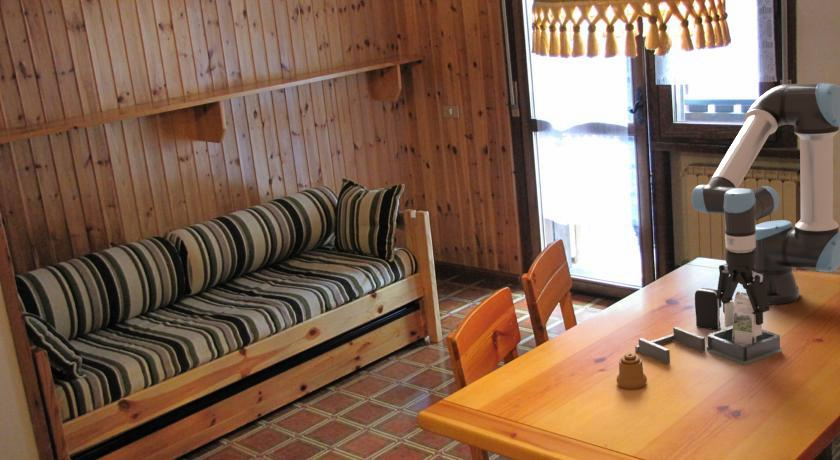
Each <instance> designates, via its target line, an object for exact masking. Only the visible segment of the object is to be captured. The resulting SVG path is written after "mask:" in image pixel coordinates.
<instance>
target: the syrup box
mask: <svg viewBox="0 0 840 460" xmlns="http://www.w3.org/2000/svg"><path fill="white" fill-rule="evenodd" d="M734 295H735V296H734V299H733V302H734V317H733V334H732V343H735V344H738V345H740V346H743V347H744V346H747V345H750V344H753V343H755V342H756V337H753V336H752V316H751V313H752V312H754V310H753V308H752V305H751V302H750V300H749V297H748V294H747V292H746V291H737V292H736V294H734Z"/></svg>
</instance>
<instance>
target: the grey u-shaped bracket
mask: <svg viewBox="0 0 840 460" xmlns="http://www.w3.org/2000/svg"><path fill="white" fill-rule="evenodd" d="M672 330H673V332H672V333H671V334H668V335H665V336H662V337H658V338H656V339H652V340H648V339H645V338H643V337H640V338H638V344H637V345H635V347H634V348H635V352H637V353H639V354H641V355H643V356H645V357H648V358H650V359H652V360H655V361H657V362H660V363H662V364H664V365H669V364H671V355H670V353H671V352H670V349H669V348H667V347H664V346H662V345H665V344H668V343H671V342H675V343H677V344H679V345H682V346H685V347H687V348H690V349H692V350H694V351H697V352H700V353H705V352H706V337H704V336H702V335H700V334H697V333H694V332H691V331H688V330H687V329H683V328H681V327H678V326H674V327H673V328H672Z"/></svg>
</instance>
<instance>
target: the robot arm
mask: <svg viewBox="0 0 840 460" xmlns="http://www.w3.org/2000/svg"><path fill="white" fill-rule="evenodd" d="M743 118H744V123H743V125H742V126H741V128H740V130H739V132H738V134H737V135H736V137H735V138H734V140H733V141H732V144H731V145H730V147H729V148H728V149H727V151H726V153H725V155H724V156H723V158H722V160H721V162H720V163H719V165H718V167H717V168H716V170H715V172H714V173H713V175H712V177H711V178H710V179H709V181H708V183H707V184H704V183H703V184H699V185H697V186H695V187H694V188H693V190H692V193H691V199H690V201H691V202H690V203H691V205H692V207H693V209H694V210H695V211H697V212H700V213H705V214H706V213H707V214H714V215H715V214H716V215H717V214H719V215H724V216H723V217H724V236H725V237H724V241H725V242H724V243H725V248H726V250H725V262H726V263H724V264H720V265H718V271H719V275H718V283H717V289H716V290H717V296H716V297H717V299H721V304H722V311H723V314H724V327H725V328H729V327H732V326H733V317H734V299H733V297H734V295H735V292H736V289H737V286H738V284H740V285H741V286H742V288H743V289H744V290H745V292H747V294H748V297H749V300H750V302H751V305H752V308H753V310H754V312H752V313H751V316H752V336H753V337H756V336H759V335H762V329H763V328H762V327H763V324H764V313H767V312H769V311H770V310H771V309H770V305H782V304H787V303H792V302H795V301H796V300H798V299H799V298H800V288H799V286H798V285H797V281H796V278H795V274H794V273H793V272H794V271H793V268H797V269H803V270H811V271H816V272H826V273H827V272H828V273H830V272H834V271H836V270H837V269H838V268H839V267H840V231H839V223H838V222H836V221H835V220H834V213H833V212H834V207H833V206H834V200H833V199H834V137H835V135H836V134H838V133H839V132H840V85H837V84H835V83H826V82H825V83H824V82H817V83H816V82H815V83H783V84H780V85H776V86H775V87H772V88H770V89H769V90H767V91H766V92H764V93H763V94H761V95H760V96H759V97H758V98H757V99H756V100H755V101H754V102H753V103H752V104H751V106H749V108H748V110H747V111H746V113H745V115H744V117H743ZM784 125H788V126H789V125H790V126H793V128H794V129H793V130H794V132H793V133H794V134H795V135H796V136H797V137H799V145H800V146H799V153H800V155H799V157H800V159H799V161H800V162H799V163H800V164H799V165H800V166H799V167H800V169H799V170H800V173H799V174H800V177H799V178H800V183H799V186H800V192H799V193H800V219H799V220H798V221H797V222H796V223H795V225H794V226H793V223H792V221H789V220H786V219H780V220H769V221H764V222H761V223H758V224H756V221H758V220H761V219H763V218H766V217H768V216H770V215H771V214H772V213H774V212H775V211H777V209H778V208H779V206H780V202H781V200H780V198H781V197H780V195H779V193H778V192H777V190H776V189H774V188H773V187H771V186H768V185H764V186H758V187H756V188H747V187H746V188H745V187H740V186H741V184H742V182H743V180H745V178H746V175H747V174H748V172H749V170H750V169H751V166H752V165H753V164H754V161H755V159H757V157H758V155H759V153H760V151H761V150H762V148H763V146H764V145H765V143H766V142H767V139H768V138H769V136H770V135H772V134H774V133H776V131H777V129H778V128H779V127H781V126H784Z"/></svg>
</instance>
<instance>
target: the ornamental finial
mask: <svg viewBox="0 0 840 460" xmlns="http://www.w3.org/2000/svg"><path fill="white" fill-rule="evenodd" d="M643 366H644V365H643V360H642V358H640V357H639V356H638V355H636V354H635V353H626V354H624V355H623V356H622V357H621V358H619V360H618V370H619V371H618V373H619V374H618V375H617V376H616V383H617V385H618V386H619V387H620V388H622V389H625V390H639V389H642V388H644V387H645V386H646V384H647V382H648V381H647V380H648V378H647V375H646V374H645V373H644V367H643Z"/></svg>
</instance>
